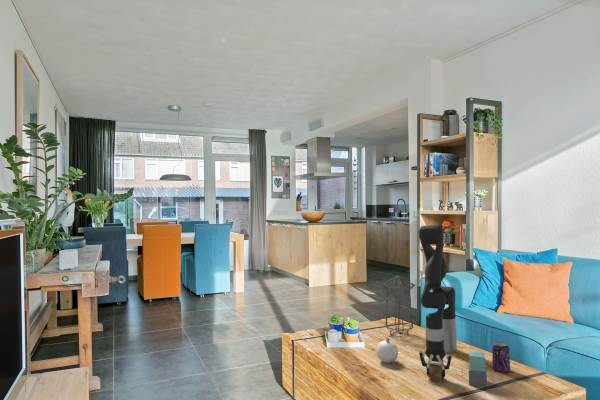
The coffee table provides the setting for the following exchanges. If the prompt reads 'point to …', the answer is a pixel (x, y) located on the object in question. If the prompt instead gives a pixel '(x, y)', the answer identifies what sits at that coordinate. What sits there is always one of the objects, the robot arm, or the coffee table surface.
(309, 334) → the coffee table surface
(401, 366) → the coffee table surface
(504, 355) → the beverage can
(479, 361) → the tower mid
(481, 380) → the tower base
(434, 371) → the walnut block
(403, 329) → the geometric lantern
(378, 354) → the ornament
